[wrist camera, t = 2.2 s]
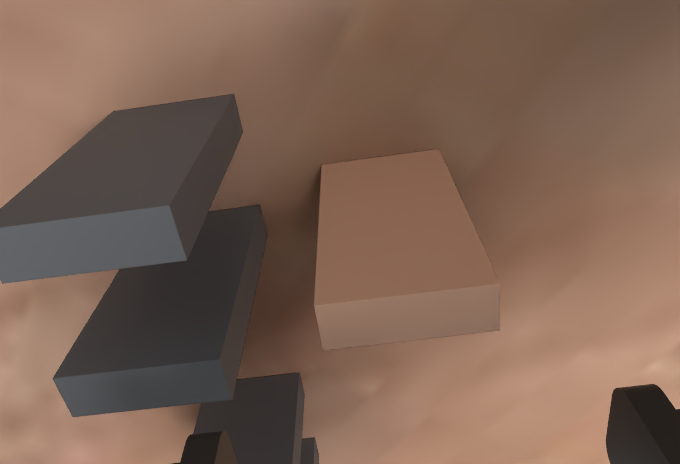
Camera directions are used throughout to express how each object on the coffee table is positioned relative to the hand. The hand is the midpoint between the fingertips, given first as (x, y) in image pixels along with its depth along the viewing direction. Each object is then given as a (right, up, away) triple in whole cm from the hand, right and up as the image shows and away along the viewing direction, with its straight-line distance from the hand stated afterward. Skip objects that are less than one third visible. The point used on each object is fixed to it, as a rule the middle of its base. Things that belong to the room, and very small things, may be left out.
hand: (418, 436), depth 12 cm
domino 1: (-8, +9, +11) cm, 16 cm away
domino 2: (-8, +4, +14) cm, 16 cm away
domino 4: (0, +7, +12) cm, 14 cm away
